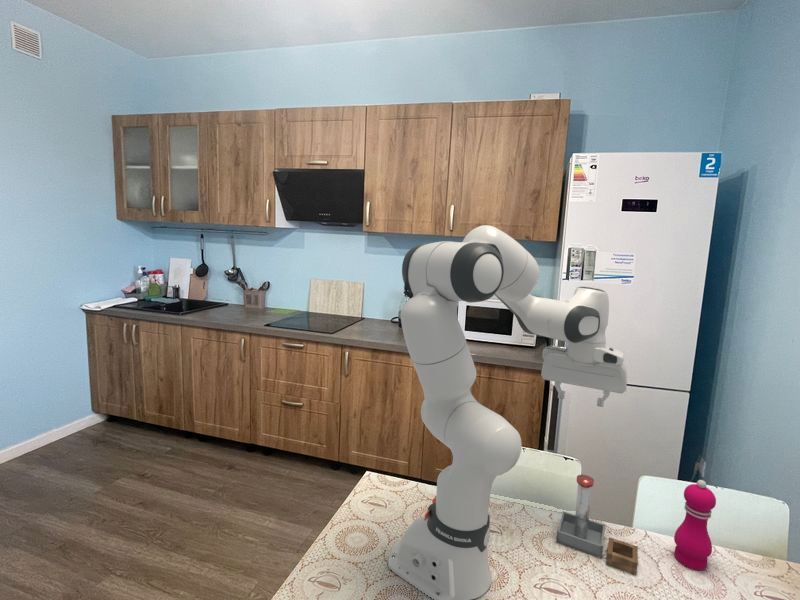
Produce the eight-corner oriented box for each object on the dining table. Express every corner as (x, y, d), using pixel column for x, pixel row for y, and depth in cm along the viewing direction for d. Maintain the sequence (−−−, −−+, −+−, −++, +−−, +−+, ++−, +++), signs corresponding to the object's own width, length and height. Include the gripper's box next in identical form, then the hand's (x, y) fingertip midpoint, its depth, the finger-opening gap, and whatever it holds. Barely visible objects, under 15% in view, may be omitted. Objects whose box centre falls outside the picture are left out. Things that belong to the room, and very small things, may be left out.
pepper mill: (715, 575, 94) (729, 492, 91) (679, 569, 96) (691, 487, 93) (699, 552, 101) (711, 474, 98) (666, 546, 103) (677, 469, 100)
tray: (556, 542, 103) (557, 531, 102) (561, 521, 111) (562, 511, 110) (601, 558, 98) (603, 547, 98) (604, 535, 106) (605, 524, 105)
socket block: (606, 564, 96) (607, 552, 96) (607, 548, 101) (608, 537, 101) (636, 575, 93) (637, 563, 93) (636, 558, 99) (637, 546, 98)
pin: (571, 537, 103) (575, 480, 101) (573, 529, 107) (577, 473, 105) (588, 543, 102) (593, 484, 100) (589, 534, 105) (594, 477, 103)
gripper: (541, 346, 111) (536, 397, 113) (629, 359, 101) (623, 415, 103) (545, 341, 116) (541, 390, 118) (630, 353, 106) (624, 406, 108)
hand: (580, 401), depth 110 cm, fingers open, 8 cm apart
